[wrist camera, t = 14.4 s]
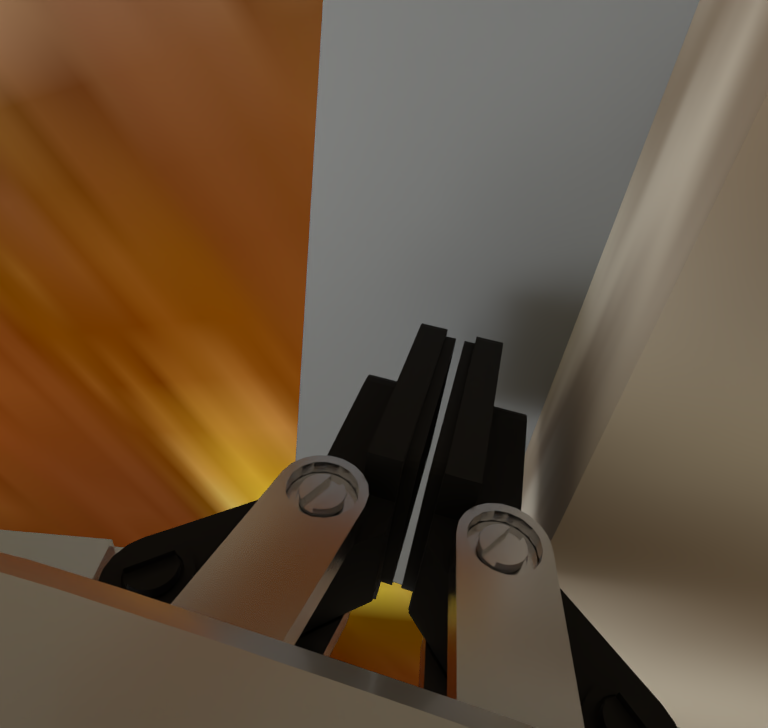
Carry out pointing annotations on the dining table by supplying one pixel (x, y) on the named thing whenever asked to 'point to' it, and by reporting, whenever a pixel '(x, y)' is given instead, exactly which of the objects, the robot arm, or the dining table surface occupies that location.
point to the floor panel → (468, 185)
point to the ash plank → (676, 396)
